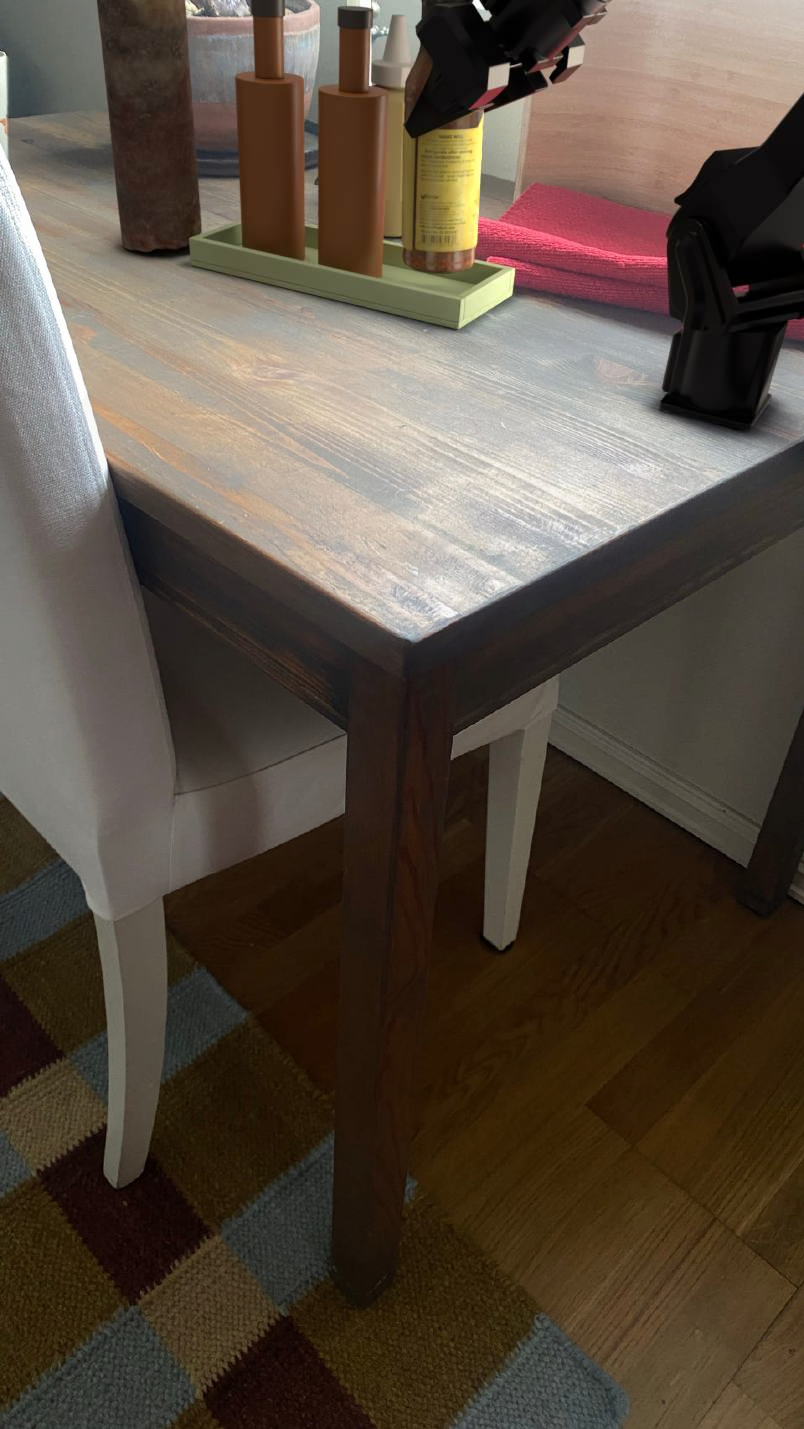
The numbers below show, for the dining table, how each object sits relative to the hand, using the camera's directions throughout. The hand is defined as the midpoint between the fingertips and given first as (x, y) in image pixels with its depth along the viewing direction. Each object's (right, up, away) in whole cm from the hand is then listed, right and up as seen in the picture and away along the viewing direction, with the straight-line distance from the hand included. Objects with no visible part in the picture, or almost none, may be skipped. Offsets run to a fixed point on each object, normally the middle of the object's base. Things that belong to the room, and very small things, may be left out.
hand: (429, 126), depth 81 cm
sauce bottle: (+1, -8, +6) cm, 10 cm away
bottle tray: (-7, -8, +11) cm, 15 cm away
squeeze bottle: (-3, +3, +23) cm, 24 cm away
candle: (-24, -2, +16) cm, 29 cm away
